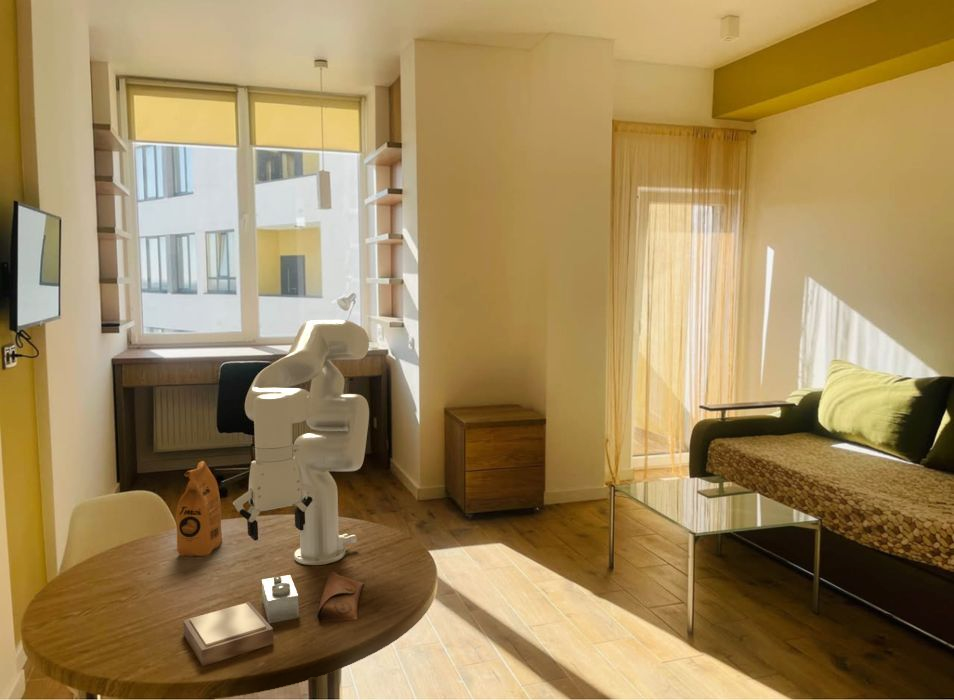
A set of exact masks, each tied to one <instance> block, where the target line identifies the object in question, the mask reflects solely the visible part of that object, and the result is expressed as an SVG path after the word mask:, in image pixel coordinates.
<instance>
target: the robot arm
mask: <svg viewBox="0 0 954 700" xmlns="http://www.w3.org/2000/svg"><path fill="white" fill-rule="evenodd" d="M292 342H293V343H292V344H291V346H290V349H289V350H288V352H287V355H286V356H283V357H281V358H280V359H277V360H276V361H274V362H272V363H271V364H270V365H268V366H266V367H264V368H263V369H262V370H261V371H260V372H258V373H257V375H256V376H255V378H254V379H253V381H252V383H251V385H250V387H249V389H248V391H247V394H246V396H245V401H244V411H245V415H246V416H247V418H248V419H249V420H250V421H252V422H253V424H254V425H253V428H254V430H253V431H254V450H255V451H254V453H255V457H254V458H255V460H254V459H253V460H252V461H251V463H250V467H249V475H248V490H247V491H246V492H245V493H244V494H241V496H239V497H237V498H236V499H235V500H234V501H233V502H232V505H233V506H234V508H235V510H236V511H237V513H238V514H239V515H241V517H243V519H246V523H247V536H249V537H250V538H251V539H252V540H253V541H258V540H259V530H258V529H259V523H258V521H257V520H256V519H257V517H258V516H259V514H260V513H261V512H265V511H271V510H276V509H279V508H280V509H281V508H286V507H291V506H295V507H296V508H295V509H294V525H295V526H294V527H295V528H296V529H298V530H299V541H300V542H299V544H300V546H299V548H297V549H296V550H295V551H294V553H293V555H294V556H293V558H294V560H295V561H296V562H297V563H299V564H302V565H306V566H321V565H328V564H331V563H335V562H338V561H339V560H341V559H343V558H344V557H345V555H346V548H345V546H346V545H347V544H353V543H356V542H357V541H358V538H357V535H356V534H350V535H348V534H347V533H344V534H341V535H340V533H339V507H338V506H339V505H338V502H339V501H338V486H337V482H336V480H335V479H334V478H333V476H332V474H331V473H330V472H355V471H358V470H359V469H361V467H362V465H363V463H364V459H365V454H366V447H367V446H366V445H367V438H368V437H367V436H368V430H369V429H368V428H369V420H370V408H369V404H368V403H369V402H368V401H367V398H365V397H364V396H363V395H361V394H357V393H344V389H345V377H344V376H343V374H342V372H341V371H340V370H339V368H338V367H337V366H336V365H335V364H334V363H333V362H332V360H362V359H363V358H364V357H366V355H367V354H368V352H369V348H370V347H369V346H370V340H369V335H368V333H367V331H366V330H365V329H364V328H363V327H362V326H360V325H358V324H357V323H356V322H352V321H350V320H346V319H315V320H309V321H305V322H304V323H303V324H302V325H301V326H300V328H299V330H298V331H297V334H296V336H295V337H294V340H293V341H292ZM309 381H311V383H310V388H309V391H308V389H307V390H306V389H305V388H299V387H294V386H297V385H301V384H303V383H306V382H309ZM305 421H306V424H307V426H308V427H309V429H311V430H314V432H307V433H303V434H301V435H299V436H298V437H297V438H296V439H295V441H294V440H293V424H299V423H303V422H305ZM315 431H316V432H315ZM317 431H319V432H317ZM338 431H339V432H338ZM293 441H294V443H293ZM247 502H248V504H249V506H250V507H249V509H248V510H246V509H245V508H244V504H245V503H247Z"/></svg>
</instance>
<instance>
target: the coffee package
mask: <svg viewBox="0 0 954 700" xmlns="http://www.w3.org/2000/svg"><path fill="white" fill-rule="evenodd" d="M183 476H184V477H186V478H188V479H189V480H188V482H187V485H186V488H185V491H184V493H183V494H182V496H181V497H180V499H179V501H178V503H177V507H176V511H175V525H176V526H175V527H176V551H177V552H178V554H179V556H180V557H185V556H187V557H195V556H196V557H206V556H210V554H211V553H212V552H213V550H215V549H217V548H219V547H220V545H221V544H222V540H223V536H222V535H223V533H222V505H221V497H220V495H221V494H220V491H219V485H218V481H217V479H216V478H215V475H213V473H212V472H211V470H210V468H209V467H208V466H207V464H206V461H204V460H202V461H200V462H198V463H197V467H196V468H194V469H190V470H186V472H185V473H184V474H183Z"/></svg>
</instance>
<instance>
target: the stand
mask: <svg viewBox="0 0 954 700" xmlns="http://www.w3.org/2000/svg"><path fill="white" fill-rule="evenodd" d="M182 625H183V626H182V627H183V628H182V629H183V636H184V638H185V639H186V641H187V643H188V644H189V646H190V648H191V649H192V652H194V654H195V656H196V657H197V659H198V660H199V663H200V664H201V666H202V667H205V666H207V665H211V664H215V663H217V662H221V661H223V660H226V659H227V660H228V659H230V658H233V657H236V656H238V655H243V654H246V653H249V652H251V651H255V650H258V649H261V648H264V647H268V646H271V645H273V644H275V643H274V628H273V626H271V625H270V623H269V622H268V620H266V618H264V616H262V615H261V613H260V612H259V611H258V610H257V609H256V608H255V606H253V604H252V603H251V602H250V601H247V602H244V603H240V604H236V605H233V606H229V607H225V608H223V609H219V610H214V611H212V612H208V613H204V614H201V615H197V616H194V617H190V618H185V619H182Z"/></svg>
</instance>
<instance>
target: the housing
mask: <svg viewBox="0 0 954 700" xmlns="http://www.w3.org/2000/svg"><path fill="white" fill-rule="evenodd" d="M261 592H262V593H261V595H262V604H263V608H264V610H265V614H266V617H267V622H268V624H272V623H277V622H283V621H284V622H285V621H288V620H293V619H298V618H300V613H299V611H300V609H299V606H300V605H299V594H298V591H297V589H296V587H295V584H294V582H293V578H292V576H291V574H287V575H282V576H281V575H280V576H274V577H270V578H263V579H261Z"/></svg>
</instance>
